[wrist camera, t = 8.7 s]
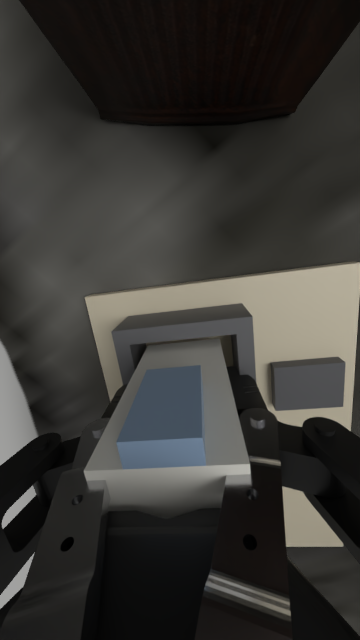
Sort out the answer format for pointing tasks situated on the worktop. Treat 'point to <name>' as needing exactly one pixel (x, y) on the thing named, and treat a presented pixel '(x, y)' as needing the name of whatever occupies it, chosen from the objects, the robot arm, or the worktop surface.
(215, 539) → the robot arm
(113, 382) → the board
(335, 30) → the manual coffee grinder
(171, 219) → the worktop surface
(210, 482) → the plug
